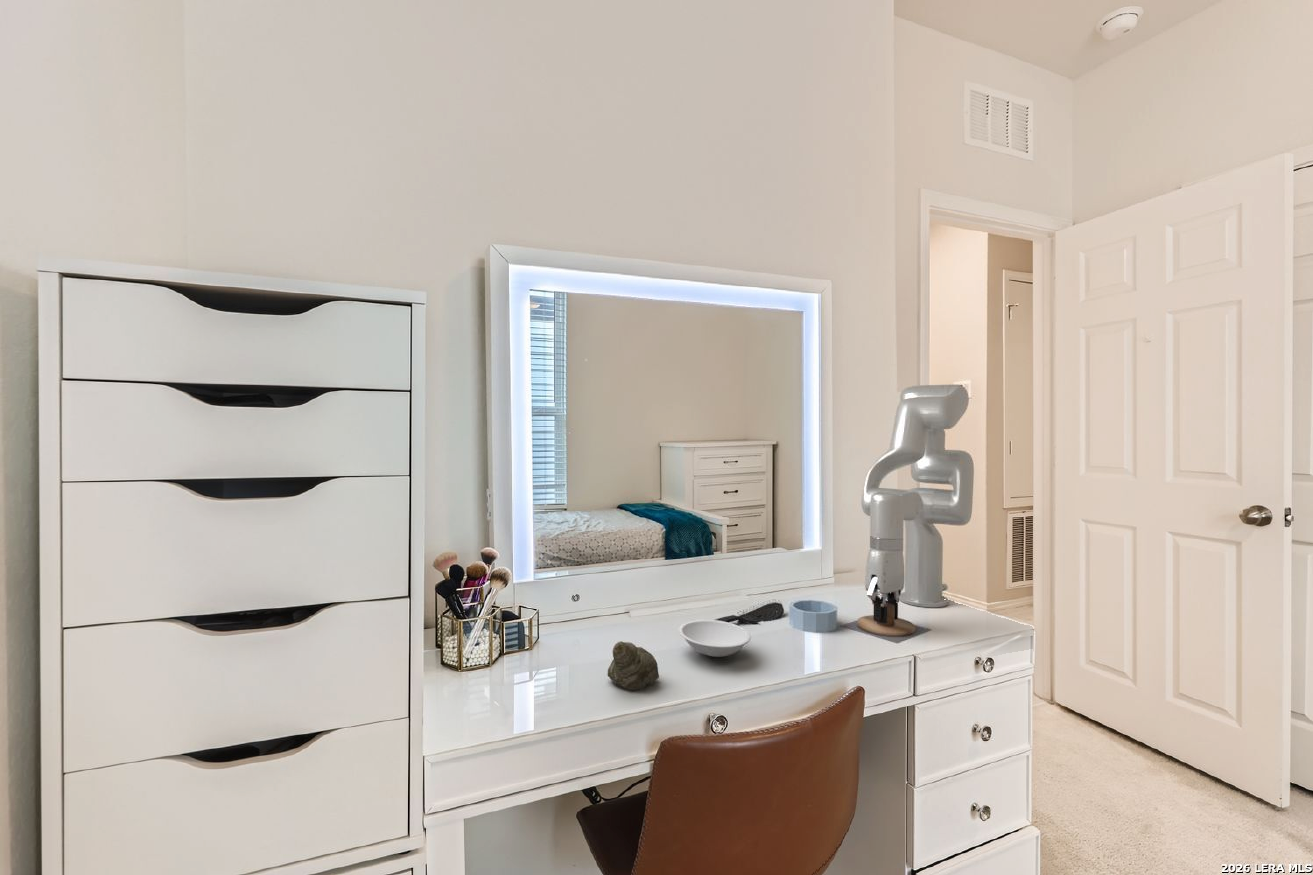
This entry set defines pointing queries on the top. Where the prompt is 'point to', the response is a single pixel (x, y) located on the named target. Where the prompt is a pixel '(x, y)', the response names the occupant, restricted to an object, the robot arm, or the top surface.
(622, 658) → the seashell
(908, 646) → the top surface
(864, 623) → the lid
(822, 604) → the bowl
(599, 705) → the top surface
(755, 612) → the hairbrush
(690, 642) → the dish
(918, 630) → the mat
